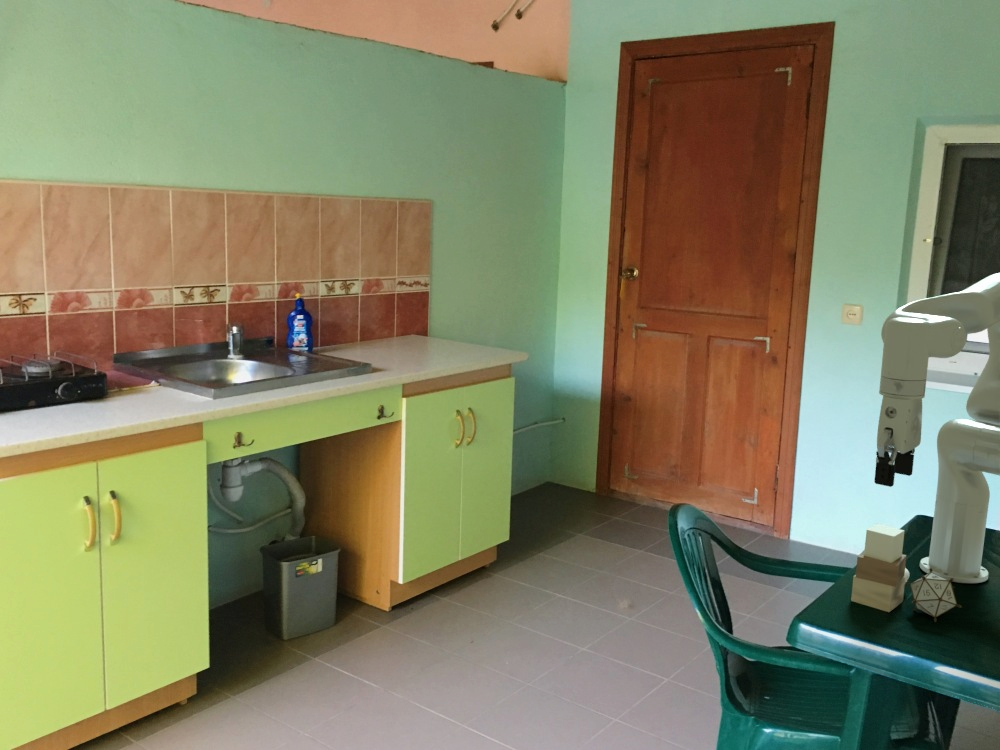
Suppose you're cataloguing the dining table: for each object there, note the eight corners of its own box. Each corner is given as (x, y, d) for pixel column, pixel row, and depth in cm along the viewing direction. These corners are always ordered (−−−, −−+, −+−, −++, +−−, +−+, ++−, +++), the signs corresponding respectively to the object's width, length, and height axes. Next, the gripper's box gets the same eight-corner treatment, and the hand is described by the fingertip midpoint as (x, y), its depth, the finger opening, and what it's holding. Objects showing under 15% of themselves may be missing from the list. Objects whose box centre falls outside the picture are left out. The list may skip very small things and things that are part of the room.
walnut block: (865, 566, 177) (867, 546, 176) (904, 575, 173) (906, 555, 172) (855, 577, 171) (857, 556, 171) (895, 586, 167) (897, 565, 167)
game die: (920, 630, 170) (916, 576, 174) (970, 627, 164) (964, 572, 169) (901, 617, 164) (897, 562, 169) (951, 614, 159) (945, 557, 163)
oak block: (865, 591, 178) (867, 566, 177) (902, 602, 173) (905, 576, 172) (850, 601, 173) (853, 576, 172) (889, 612, 168) (892, 586, 167)
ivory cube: (901, 556, 172) (904, 530, 171) (891, 563, 168) (894, 536, 167) (874, 549, 175) (877, 523, 174) (864, 555, 171) (866, 529, 170)
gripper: (907, 396, 157) (898, 494, 160) (939, 384, 170) (930, 474, 173) (863, 390, 162) (854, 484, 165) (897, 378, 175) (889, 466, 178)
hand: (893, 479), depth 169 cm, fingers open, 9 cm apart
